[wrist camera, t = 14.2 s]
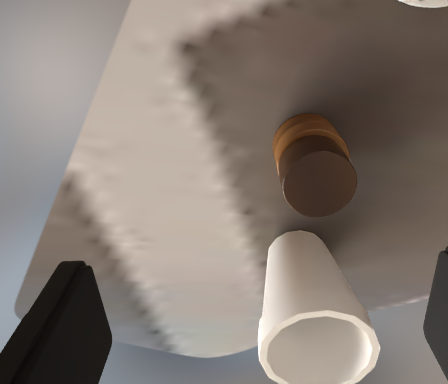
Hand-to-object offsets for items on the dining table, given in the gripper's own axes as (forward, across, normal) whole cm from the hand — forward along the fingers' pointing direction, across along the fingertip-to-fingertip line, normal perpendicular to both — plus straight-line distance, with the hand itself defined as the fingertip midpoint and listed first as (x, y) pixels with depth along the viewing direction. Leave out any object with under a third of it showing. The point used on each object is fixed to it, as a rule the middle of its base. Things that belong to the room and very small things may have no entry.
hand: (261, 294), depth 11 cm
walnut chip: (+22, -5, +6) cm, 24 cm away
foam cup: (+27, -4, +19) cm, 33 cm away
